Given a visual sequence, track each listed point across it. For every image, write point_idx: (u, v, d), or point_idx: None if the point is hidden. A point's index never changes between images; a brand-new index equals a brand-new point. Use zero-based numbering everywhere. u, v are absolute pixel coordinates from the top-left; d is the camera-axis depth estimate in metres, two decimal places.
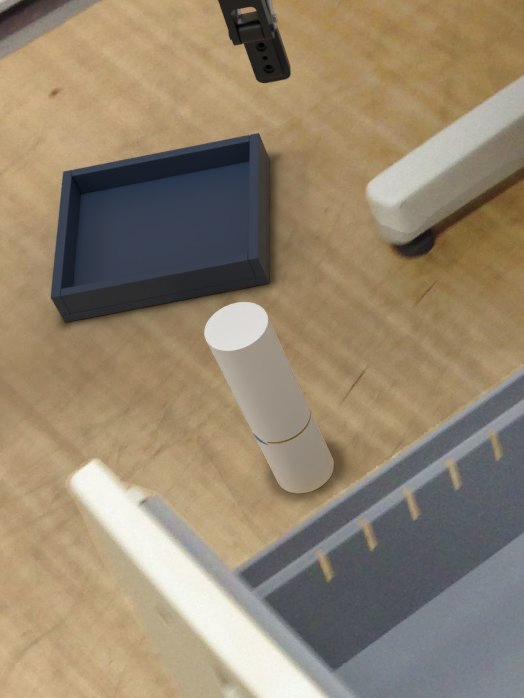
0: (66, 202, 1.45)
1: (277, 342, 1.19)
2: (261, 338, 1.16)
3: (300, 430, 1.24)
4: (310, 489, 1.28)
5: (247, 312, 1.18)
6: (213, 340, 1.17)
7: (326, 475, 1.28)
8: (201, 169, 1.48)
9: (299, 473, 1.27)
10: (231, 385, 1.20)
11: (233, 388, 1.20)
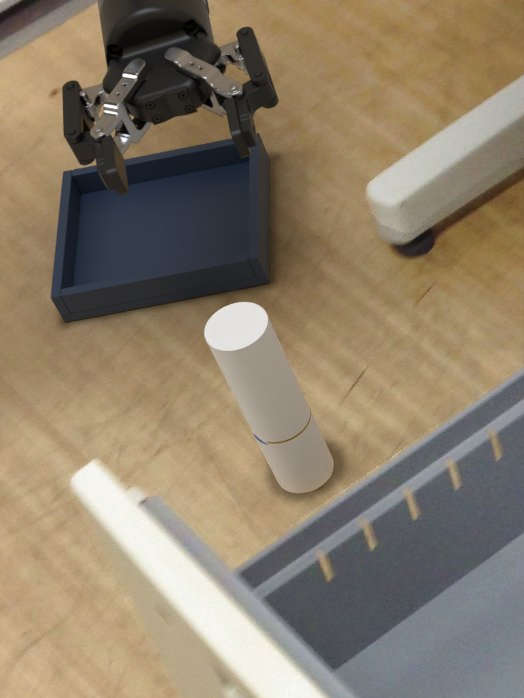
0: (66, 202, 1.45)
1: (277, 342, 1.19)
2: (261, 338, 1.16)
3: (300, 430, 1.24)
4: (310, 489, 1.28)
5: (247, 312, 1.18)
6: (213, 340, 1.17)
7: (326, 475, 1.28)
8: (201, 169, 1.48)
9: (299, 473, 1.27)
10: (231, 385, 1.20)
11: (233, 388, 1.20)
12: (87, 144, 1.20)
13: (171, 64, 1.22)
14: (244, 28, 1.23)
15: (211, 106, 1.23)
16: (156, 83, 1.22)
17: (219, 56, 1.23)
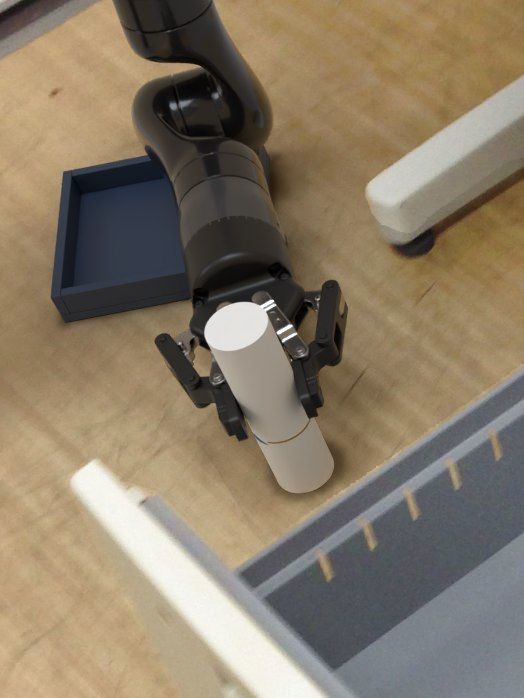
0: (66, 202, 1.45)
1: (277, 342, 1.19)
2: (262, 338, 1.16)
3: (300, 430, 1.24)
4: (310, 489, 1.28)
5: (247, 312, 1.18)
6: (213, 340, 1.17)
7: (326, 475, 1.28)
8: None
9: (300, 473, 1.27)
10: (231, 385, 1.20)
11: (233, 388, 1.20)
12: (206, 390, 1.23)
13: None
14: (331, 281, 1.26)
15: None
16: None
17: (304, 298, 1.26)
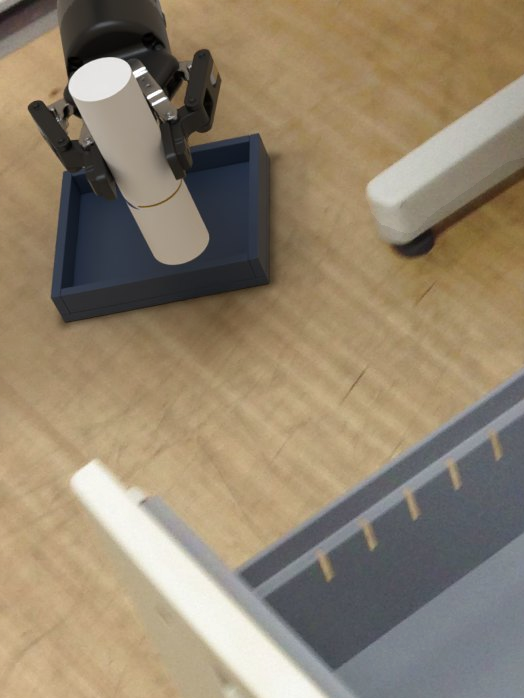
0: (66, 202, 1.45)
1: (142, 98, 1.20)
2: (124, 90, 1.18)
3: (170, 194, 1.25)
4: (184, 260, 1.30)
5: (111, 66, 1.19)
6: (76, 92, 1.18)
7: (200, 246, 1.30)
8: (201, 169, 1.48)
9: (172, 242, 1.28)
10: (97, 142, 1.21)
11: (100, 145, 1.21)
12: (76, 152, 1.24)
13: None
14: (203, 50, 1.27)
15: (157, 122, 1.27)
16: None
17: (177, 67, 1.28)
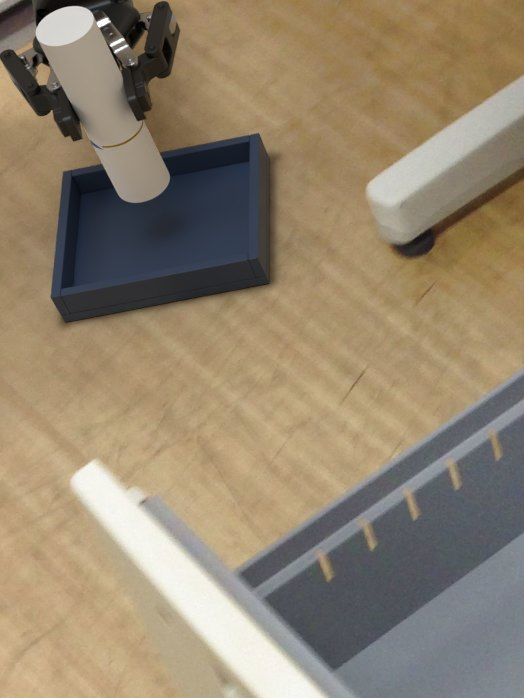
0: (66, 202, 1.45)
1: (104, 44, 1.30)
2: (87, 36, 1.28)
3: (132, 135, 1.35)
4: (146, 198, 1.39)
5: (75, 14, 1.29)
6: (43, 38, 1.28)
7: (161, 186, 1.39)
8: (201, 169, 1.48)
9: (135, 181, 1.38)
10: (63, 85, 1.31)
11: (65, 88, 1.31)
12: (44, 96, 1.34)
13: None
14: (162, 2, 1.37)
15: (120, 69, 1.37)
16: None
17: (138, 18, 1.37)
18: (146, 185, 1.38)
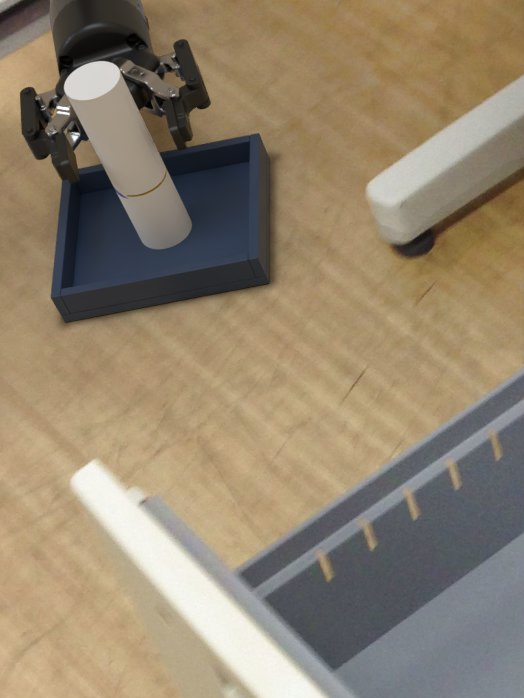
0: (66, 202, 1.45)
1: (130, 97, 1.34)
2: (114, 90, 1.32)
3: (156, 185, 1.39)
4: (169, 245, 1.43)
5: (102, 69, 1.33)
6: (71, 92, 1.32)
7: (184, 233, 1.44)
8: (201, 169, 1.48)
9: (158, 228, 1.42)
10: (90, 137, 1.35)
11: (92, 140, 1.35)
12: (42, 140, 1.38)
13: None
14: (180, 40, 1.41)
15: (151, 108, 1.41)
16: None
17: (158, 65, 1.41)
18: (169, 232, 1.42)
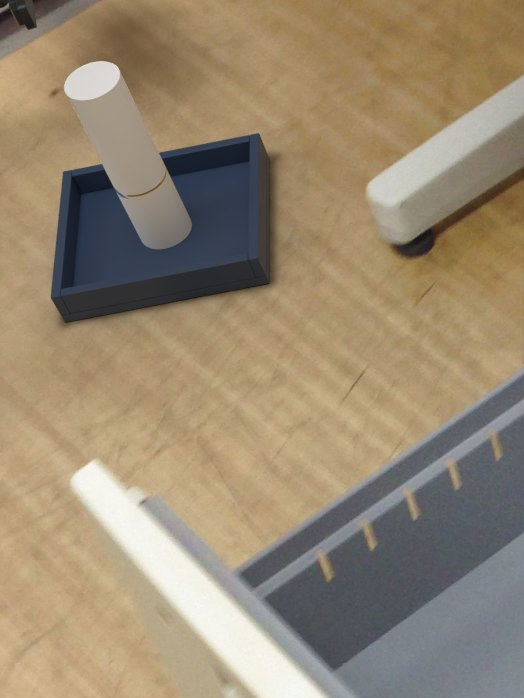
0: (66, 202, 1.45)
1: (130, 97, 1.34)
2: (114, 90, 1.32)
3: (156, 185, 1.39)
4: (169, 245, 1.43)
5: (102, 69, 1.33)
6: (71, 92, 1.32)
7: (184, 233, 1.44)
8: (201, 169, 1.48)
9: (158, 228, 1.42)
10: (90, 137, 1.35)
11: (92, 140, 1.35)
12: None
13: None
14: None
15: None
16: None
17: None
18: (169, 232, 1.42)
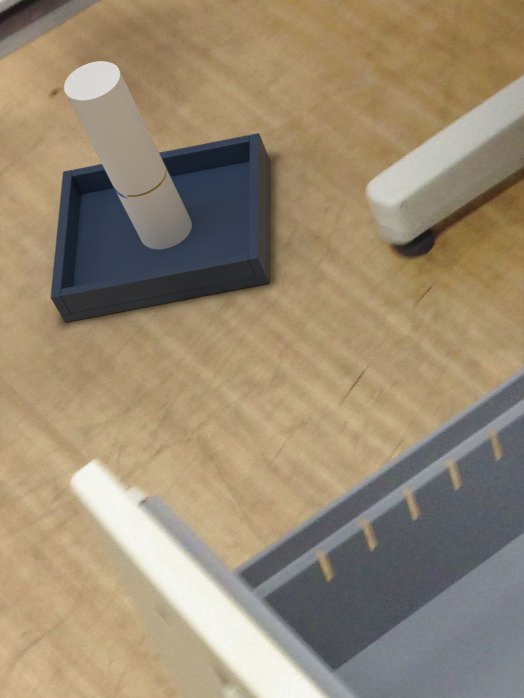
0: (66, 202, 1.45)
1: (130, 97, 1.34)
2: (114, 90, 1.32)
3: (156, 185, 1.39)
4: (169, 245, 1.43)
5: (102, 69, 1.33)
6: (71, 92, 1.32)
7: (184, 233, 1.44)
8: (201, 169, 1.48)
9: (158, 228, 1.42)
10: (90, 137, 1.35)
11: (92, 140, 1.35)
12: None
13: None
14: None
15: None
16: None
17: None
18: (169, 232, 1.42)
